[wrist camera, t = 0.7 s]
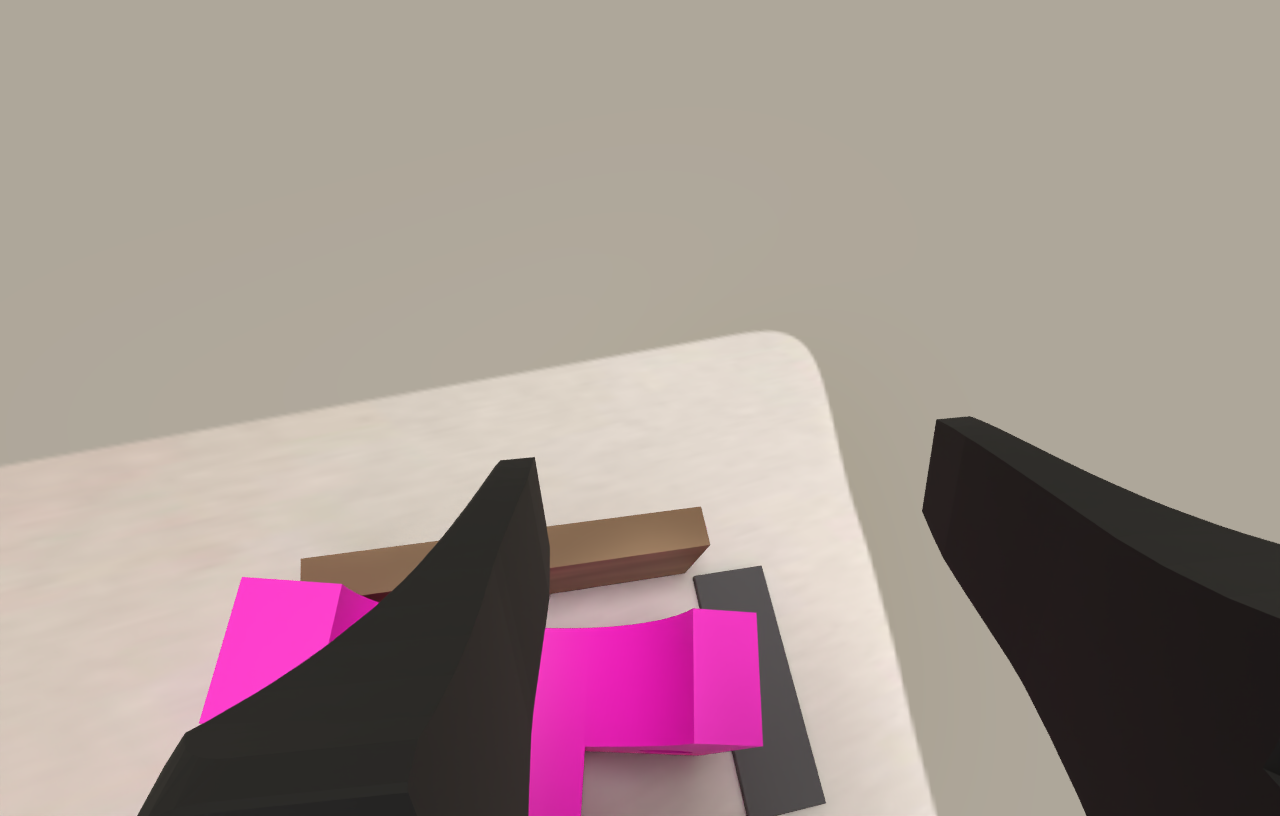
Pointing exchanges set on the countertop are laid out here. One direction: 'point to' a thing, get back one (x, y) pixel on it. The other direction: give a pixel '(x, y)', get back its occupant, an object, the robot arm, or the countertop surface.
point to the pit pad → (767, 704)
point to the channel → (574, 554)
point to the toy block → (541, 679)
